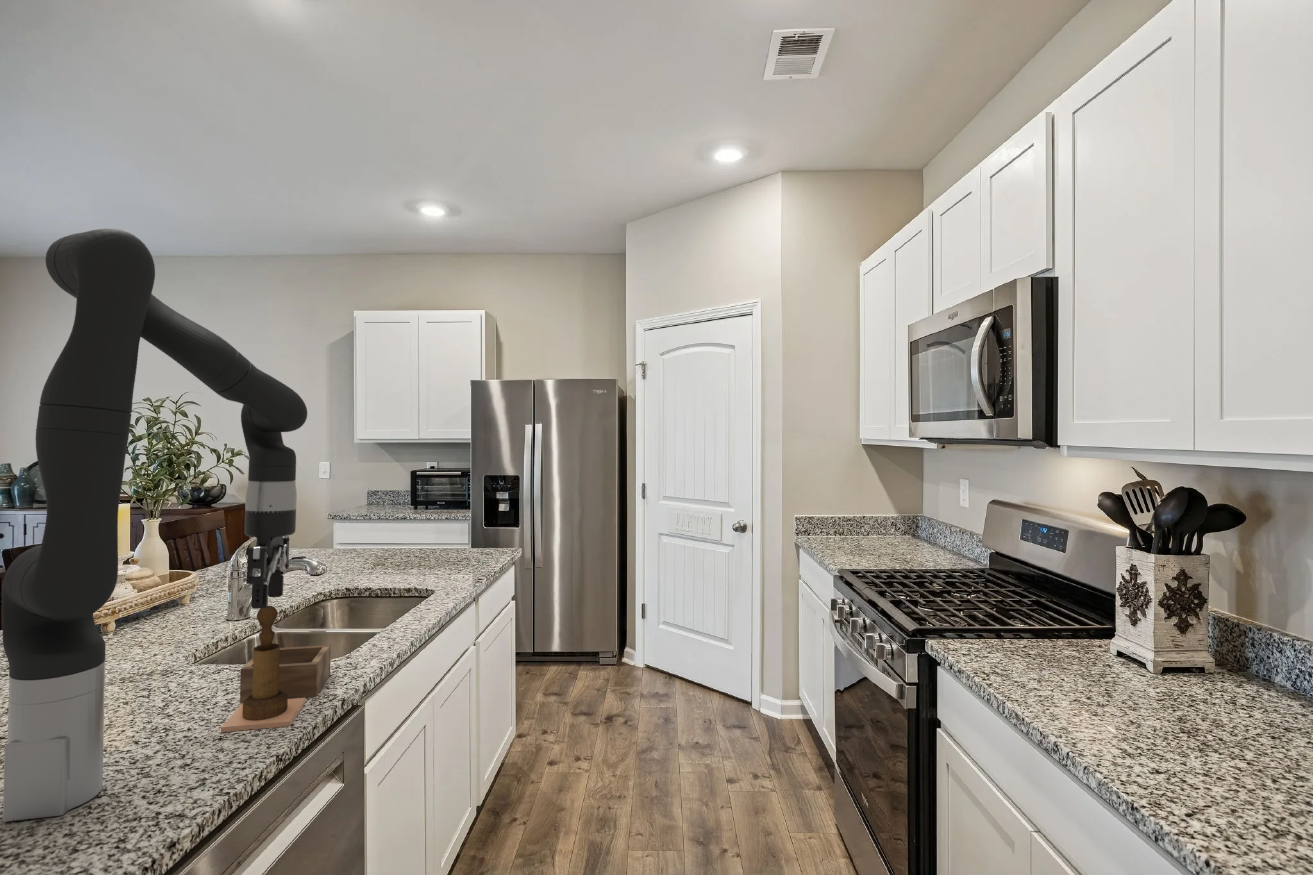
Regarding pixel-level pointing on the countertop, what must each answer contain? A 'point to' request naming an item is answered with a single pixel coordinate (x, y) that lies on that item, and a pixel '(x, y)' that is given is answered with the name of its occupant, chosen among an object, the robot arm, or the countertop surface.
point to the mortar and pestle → (265, 673)
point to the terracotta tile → (282, 720)
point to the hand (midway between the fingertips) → (267, 602)
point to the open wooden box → (295, 672)
